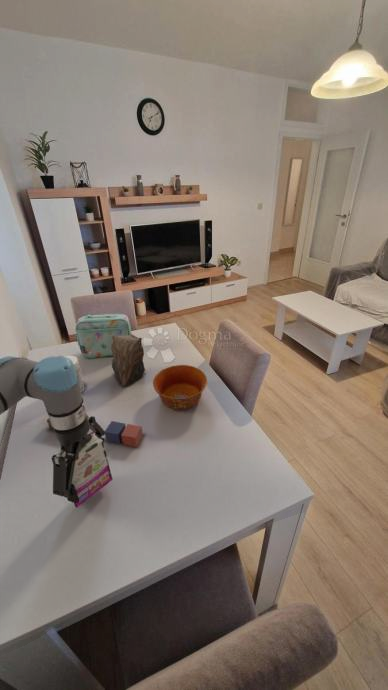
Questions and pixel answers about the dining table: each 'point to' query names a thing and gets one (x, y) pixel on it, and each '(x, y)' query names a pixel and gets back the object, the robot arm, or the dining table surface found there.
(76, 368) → the supplement tub
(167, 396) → the bowl
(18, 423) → the dining table surface
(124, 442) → the block
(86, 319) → the lunch box
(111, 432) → the block
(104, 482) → the candy bar box
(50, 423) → the block
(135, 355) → the brown rock
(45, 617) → the dining table surface
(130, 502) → the dining table surface
